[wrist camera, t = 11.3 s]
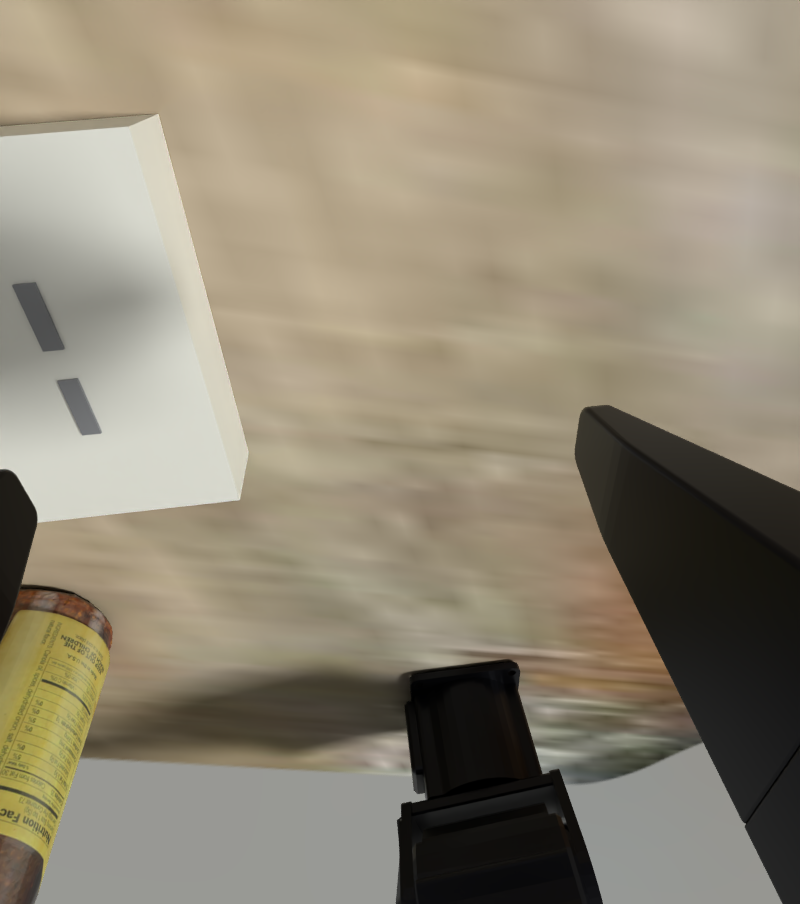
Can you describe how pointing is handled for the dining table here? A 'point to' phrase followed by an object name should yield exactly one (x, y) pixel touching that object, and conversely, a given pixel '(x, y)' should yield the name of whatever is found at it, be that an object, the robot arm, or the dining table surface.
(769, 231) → the dining table surface
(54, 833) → the sauce bottle
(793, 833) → the robot arm
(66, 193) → the socket plate
